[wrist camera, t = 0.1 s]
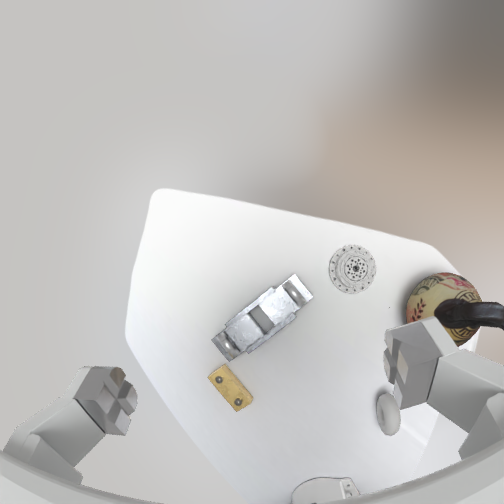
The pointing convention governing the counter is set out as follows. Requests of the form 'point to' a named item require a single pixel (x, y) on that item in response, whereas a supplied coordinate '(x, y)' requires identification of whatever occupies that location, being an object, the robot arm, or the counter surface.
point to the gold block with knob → (230, 388)
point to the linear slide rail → (275, 307)
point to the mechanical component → (360, 277)
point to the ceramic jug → (453, 306)
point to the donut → (388, 414)
